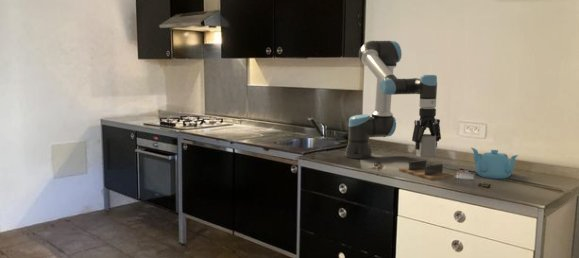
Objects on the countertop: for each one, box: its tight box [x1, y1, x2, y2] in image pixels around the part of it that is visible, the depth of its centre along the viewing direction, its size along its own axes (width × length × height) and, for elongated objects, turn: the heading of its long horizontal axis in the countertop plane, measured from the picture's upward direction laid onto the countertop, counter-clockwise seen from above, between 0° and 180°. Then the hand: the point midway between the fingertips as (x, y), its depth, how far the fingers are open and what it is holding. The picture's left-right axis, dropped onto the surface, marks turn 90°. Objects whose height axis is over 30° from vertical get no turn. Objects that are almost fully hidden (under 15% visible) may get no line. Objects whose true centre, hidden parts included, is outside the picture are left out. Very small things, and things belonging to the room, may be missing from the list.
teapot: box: [470, 147, 519, 180], centre depth 230 cm, size 17×19×12 cm
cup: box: [417, 133, 437, 159], centre depth 232 cm, size 8×8×10 cm
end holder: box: [398, 159, 454, 181], centre depth 233 cm, size 22×14×5 cm, turn 27°
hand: (426, 155), depth 232 cm, fingers closed on cup, 8 cm apart
